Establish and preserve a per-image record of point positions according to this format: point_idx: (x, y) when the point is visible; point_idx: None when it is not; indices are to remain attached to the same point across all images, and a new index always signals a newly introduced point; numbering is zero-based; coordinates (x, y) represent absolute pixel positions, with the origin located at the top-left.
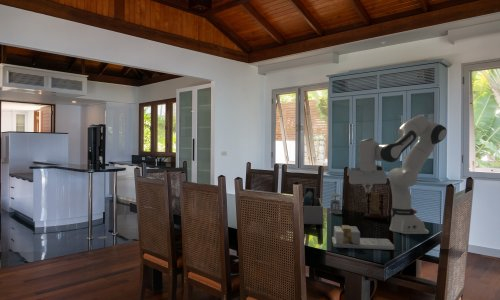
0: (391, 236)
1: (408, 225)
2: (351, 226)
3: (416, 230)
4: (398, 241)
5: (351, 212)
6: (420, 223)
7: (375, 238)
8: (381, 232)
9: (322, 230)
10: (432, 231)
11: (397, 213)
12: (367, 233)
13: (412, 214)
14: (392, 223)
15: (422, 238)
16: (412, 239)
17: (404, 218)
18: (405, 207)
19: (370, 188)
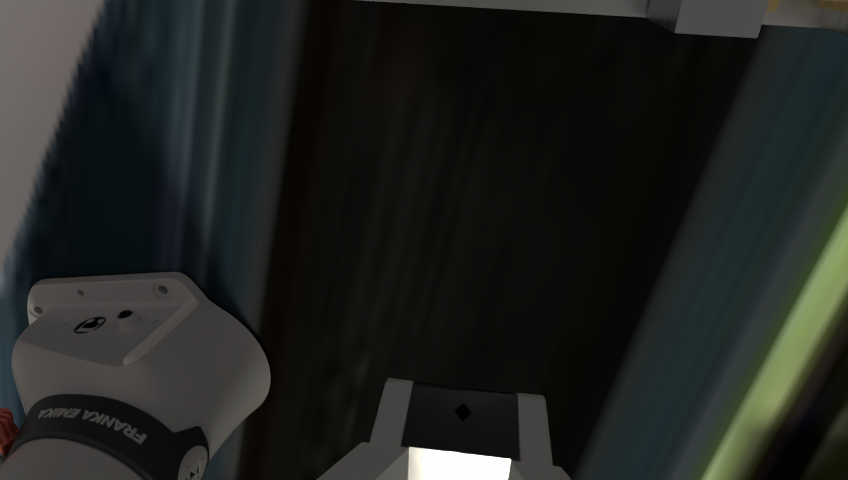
0: (284, 206)
1: (123, 329)
2: (740, 19)
3: (96, 308)
4: (254, 51)
5: None
6: (32, 340)
7: (452, 5)
8: (337, 314)
9: (804, 368)
10: (16, 339)
11: (147, 424)
12: (449, 285)
13: (35, 405)
14: (231, 389)
15: (75, 161)
16: (144, 126)
17: (116, 368)
18: (39, 453)
19: (378, 455)
